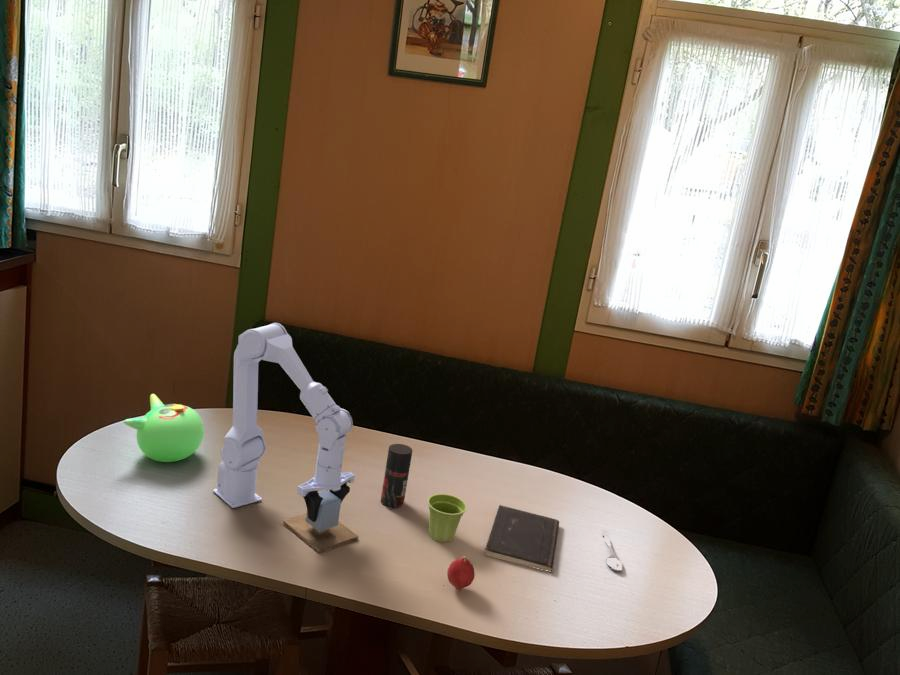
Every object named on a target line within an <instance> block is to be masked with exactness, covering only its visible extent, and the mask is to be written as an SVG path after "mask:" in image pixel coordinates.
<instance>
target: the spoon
mask: <svg viewBox="0 0 900 675" xmlns="http://www.w3.org/2000/svg"><path fill="white" fill-rule="evenodd" d="M608 549H609V550H610V551H609V552H610V555H609V556H608V557H607V558H617V559H619V558H618V557H617V555H616V552H614V548H613V546H612V547H610V546H609V547H608ZM612 567H613V566H612ZM612 567H611V568H610V569H611V570H614V571H616V572H622V571H623V570H617V569H614V568H615V567H613V568H612Z"/></svg>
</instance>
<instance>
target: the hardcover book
mask: <svg viewBox="0 0 900 675" xmlns="http://www.w3.org/2000/svg"><path fill="white" fill-rule="evenodd" d="M492 523H493V524H492V526H491V530H490V533H489V535H488V536H489V537H488V539H487V542H486V545H485V548H484V550H485V556H487V557H491V558H496V559H498V560H502V561H506V562H510V563H513V562H514V563H513V564H517V563H518V565H521V564H522V566H525V565H526V566H525V567H528V566H531V567H530V568H532V567H535V568H534V569H536V568H539V569H538V570H540V569H543V570H548V571H551V572H553V568H554V560H555V555H556V548H557V539H558V533H559V525H560V521H559V520H558V519H556V518H552V517H548V516H546V515H545V516H544V515H540V514H536V513H533V512H528V511H525V510H520V509H516V508H513V507H509V506H505V505H502V504H499V505H498V509H497V511H496V514H495V518H494V520H493V522H492ZM543 570H542V571H543ZM551 572H550V573H551Z"/></svg>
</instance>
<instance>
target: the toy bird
mask: <svg viewBox="0 0 900 675" xmlns="http://www.w3.org/2000/svg"><path fill="white" fill-rule="evenodd" d="M149 404H150V411H149V410H148V412H147V413H145V414H144V415H143V417H132V418H126V419H124V421H123V424H124V425H125V426H127V427H130V428H131V429H135V430H136V441H137V445H138V448H139V449H140V451H141V452H142V453H143V455H144V456H146V457H147V458H149V459H151V460H153V461H157V462H160V463H174V462H175V463H176V462H178V461H182V460H184V459H186V458H188V457H190V456H191V455H193V454H194V453H195V452H196V451H197V450H198V449H199V448H200V446H201V444H202V442H203V439H204V436H205V426H204V422H203V419H202V418H201V416H200V414H199V413H198V412H197V411H196V410H195V409H193V408H192V407H189V406H188V405H187V406H186V405H183V404H181V403H179V404H177V403H168V404H164V403H163V401H161V399H160V398H159V397H158V396H157V395H156V394H155V393H151V394H150V396H149Z"/></svg>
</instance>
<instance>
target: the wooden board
mask: <svg viewBox="0 0 900 675" xmlns="http://www.w3.org/2000/svg"><path fill="white" fill-rule="evenodd" d="M306 516H307V512H306V513H304V514H300V515H297V516H294V517H290V518H287V519H284V520H282V524H283V525H284V526H285V527H286V528H288V529H289V530H290V531H291V532H292V533H294V534H295V535H296V536H297V537H298V538H300V539H301V540H302V541H303V542H305V543H306V544H307V545H309V546H310V547H311V548H312V549H313V550H314V551H316V552H317V553H318V554H321V553H323V552H325V551H328V550H332V549H334V548H337V547H341V546H343V545H346V544H348V543H349V544H350V543H351V542H354V541H356V540H359V536H358V534H356V533H355V532H353V531H352V530H351V529H349V528H348V527H347V526H346V525H344V524H343V523H342V522H340V521H339V520H338V526H335V527H332V528H329V529H326V530H323V531H320V532H319V531H318V530H317V529H315V528H314V527H313V526H311V525H310V524H309V523H308V522H306Z"/></svg>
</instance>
